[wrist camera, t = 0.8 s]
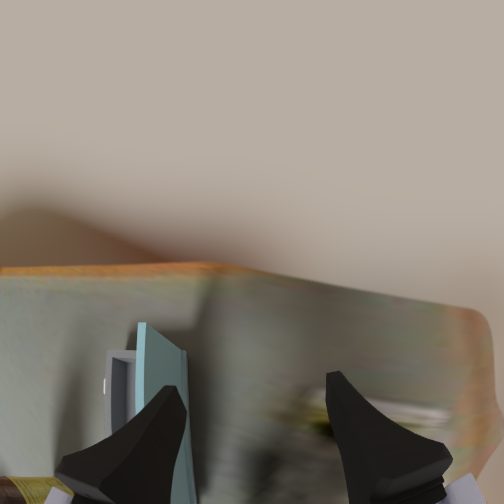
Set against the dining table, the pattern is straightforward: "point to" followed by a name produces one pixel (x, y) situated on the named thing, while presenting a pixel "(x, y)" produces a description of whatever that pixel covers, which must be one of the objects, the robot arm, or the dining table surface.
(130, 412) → the gray storage box base
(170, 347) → the cover
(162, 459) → the robot arm
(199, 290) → the dining table surface
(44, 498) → the sauce bottle
